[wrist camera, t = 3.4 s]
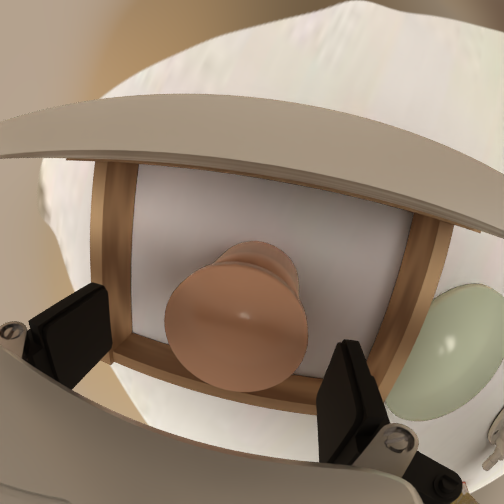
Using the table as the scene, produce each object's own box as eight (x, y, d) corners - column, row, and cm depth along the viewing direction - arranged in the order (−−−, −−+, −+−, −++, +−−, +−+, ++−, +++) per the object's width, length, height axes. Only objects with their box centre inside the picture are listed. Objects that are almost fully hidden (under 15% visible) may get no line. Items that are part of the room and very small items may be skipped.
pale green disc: (463, 410, 17) (467, 416, 16) (357, 413, 19) (358, 421, 18) (523, 294, 14) (530, 298, 13) (419, 270, 15) (425, 275, 14)
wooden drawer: (363, 392, 18) (389, 538, 6) (123, 338, 20) (22, 438, 8) (429, 201, 14) (602, 247, 2) (129, 148, 16) (-46, 137, 4)
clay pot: (292, 334, 18) (288, 402, 12) (203, 315, 19) (164, 371, 12) (314, 246, 16) (325, 285, 10) (214, 227, 17) (167, 252, 11)
